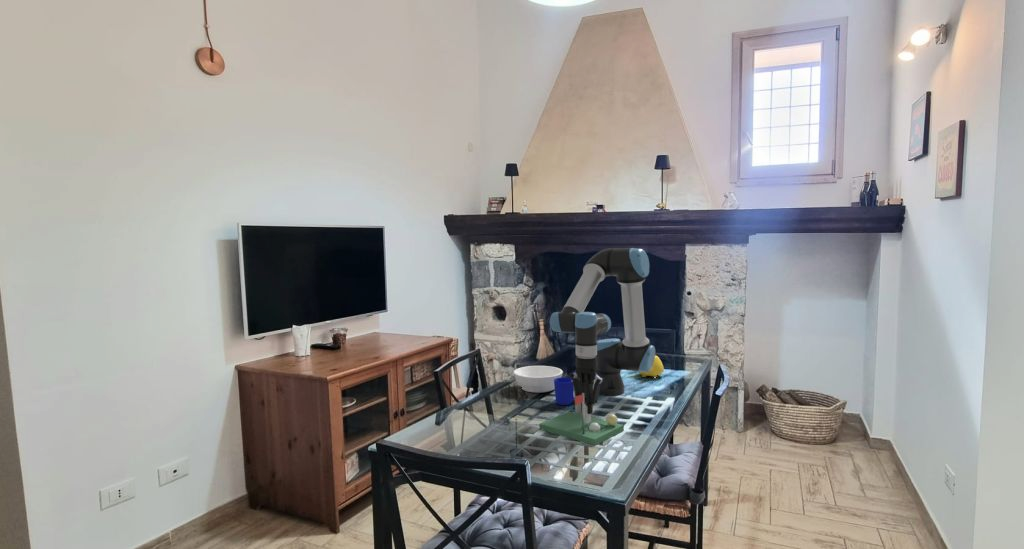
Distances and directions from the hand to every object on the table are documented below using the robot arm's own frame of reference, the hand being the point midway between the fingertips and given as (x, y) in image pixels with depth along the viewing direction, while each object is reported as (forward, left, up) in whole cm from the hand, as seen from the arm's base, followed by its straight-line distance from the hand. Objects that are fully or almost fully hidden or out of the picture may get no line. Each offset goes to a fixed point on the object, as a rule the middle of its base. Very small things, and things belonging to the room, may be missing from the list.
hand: (586, 422), depth 193 cm
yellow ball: (-6, +6, +1) cm, 9 cm away
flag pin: (+9, +4, -1) cm, 10 cm away
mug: (-22, -25, -4) cm, 33 cm away
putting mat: (0, -3, -3) cm, 4 cm away
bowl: (-31, -49, -4) cm, 58 cm away
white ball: (0, +3, -1) cm, 4 cm away
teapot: (-83, -22, -4) cm, 86 cm away
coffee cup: (-16, -13, -4) cm, 21 cm away
